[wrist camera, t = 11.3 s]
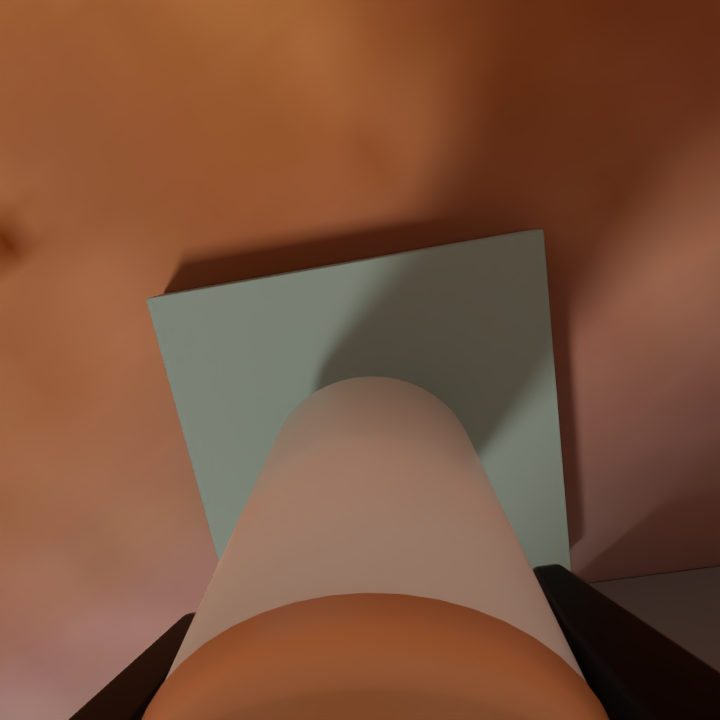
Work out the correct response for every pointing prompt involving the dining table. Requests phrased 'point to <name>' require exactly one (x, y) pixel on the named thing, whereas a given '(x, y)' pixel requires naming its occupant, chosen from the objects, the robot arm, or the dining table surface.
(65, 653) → the dining table surface
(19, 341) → the dining table surface
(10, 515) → the dining table surface
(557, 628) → the small lidded jar
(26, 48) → the dining table surface
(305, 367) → the mat
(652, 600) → the housing
